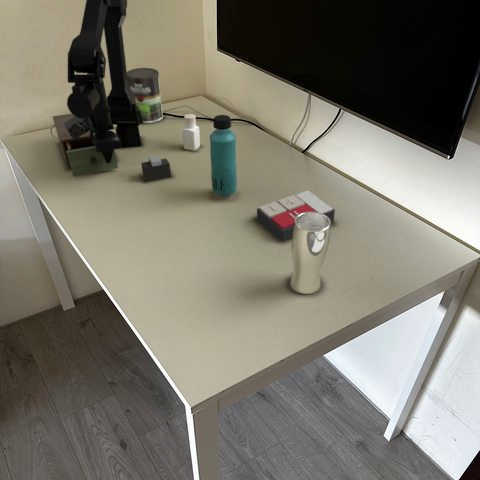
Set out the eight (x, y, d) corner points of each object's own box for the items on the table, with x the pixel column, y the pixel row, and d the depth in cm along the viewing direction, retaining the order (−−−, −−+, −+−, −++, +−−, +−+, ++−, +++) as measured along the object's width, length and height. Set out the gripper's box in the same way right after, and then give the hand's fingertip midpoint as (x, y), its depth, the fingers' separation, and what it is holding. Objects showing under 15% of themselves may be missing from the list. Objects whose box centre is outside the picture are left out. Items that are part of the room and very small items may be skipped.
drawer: (118, 170, 131) (114, 146, 126) (73, 178, 127) (67, 154, 123) (105, 143, 143) (101, 121, 138) (64, 150, 140) (58, 127, 135)
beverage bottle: (238, 189, 124) (237, 111, 110) (235, 202, 120) (234, 122, 106) (213, 188, 125) (210, 110, 111) (210, 201, 120) (205, 121, 106)
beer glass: (285, 274, 98) (290, 211, 88) (318, 272, 99) (327, 209, 88) (290, 296, 93) (296, 232, 83) (325, 294, 94) (335, 230, 83)
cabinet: (115, 161, 136) (110, 132, 131) (68, 169, 133) (60, 140, 127) (103, 137, 149) (98, 109, 143) (60, 144, 145) (52, 116, 139)
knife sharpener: (167, 171, 132) (165, 153, 128) (171, 177, 129) (169, 159, 126) (143, 176, 130) (140, 158, 126) (146, 182, 127) (143, 163, 124)
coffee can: (158, 124, 156) (153, 78, 146) (128, 122, 157) (121, 76, 147) (167, 112, 163) (162, 68, 153) (138, 111, 164) (131, 66, 154)
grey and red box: (256, 206, 111) (308, 187, 116) (256, 221, 114) (307, 202, 119) (281, 228, 104) (336, 207, 109) (281, 244, 107) (334, 223, 112)
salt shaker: (183, 149, 142) (180, 117, 135) (189, 144, 145) (186, 112, 138) (195, 151, 141) (193, 119, 134) (201, 146, 143) (199, 114, 137)
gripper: (57, 95, 120) (72, 153, 131) (67, 121, 108) (83, 184, 119) (100, 89, 123) (112, 147, 134) (116, 114, 111) (127, 175, 122)
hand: (108, 162), depth 127 cm, fingers closed
